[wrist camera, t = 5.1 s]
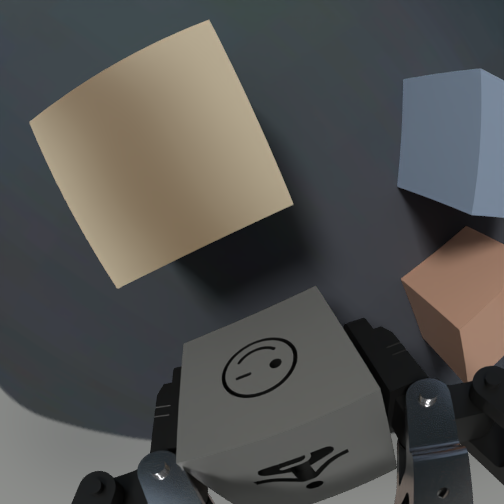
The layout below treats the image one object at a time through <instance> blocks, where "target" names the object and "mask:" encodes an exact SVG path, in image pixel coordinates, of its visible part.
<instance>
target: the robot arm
mask: <svg viewBox="0 0 504 504" xmlns="http://www.w3.org/2000/svg"><path fill="white" fill-rule="evenodd" d="M344 331H345V332H346V334H347V335H348V337H349V339H350V340H351V342H352V343H353V345H354V347H355V348H356V350H357V351H358V353H359V355H360V356H361V358H362V359H363V361H364V363H365V364H366V366H367V368H368V369H369V371H370V373H371V374H372V376H373V377H374V379H375V381H376V382H377V384H378V386H379V387H380V389H381V394H382V398H383V402H384V407H385V411H386V415H387V420H388V425H389V429H390V433H391V432H393V431H394V432H395V434H396V435H397V437H398V441H397V490H396V497H395V503H394V504H473V493H472V482H471V473H470V465H469V457H468V452H469V453H470V454H471V455H472V456H473V457H475V458H476V459H477V460H478V461H479V462H480V463H481V464H482V465H483V466H484V467H485V468H486V469H487V470H489V472H490V473H491V474H493V475H494V476H495V477H496V478H497V479H498V480H499V481H500V482H501V483H502V484H503V485H504V369H502V368H500V367H497V366H486V367H483V368H481V369H479V370H478V371H477V372H476V373H475V375H474V377H473V380H472V381H470V382H465V383H460V384H456V385H446V384H444V383H443V382H442V381H440V380H437V379H432V378H428V376H427V375H426V374H425V373H424V371H423V370H422V369H421V368H420V366H419V365H418V364H417V363H416V361H415V360H414V359H413V357H412V356H411V355H410V354H409V352H408V351H406V349H405V347H404V346H403V345H402V344H401V343H400V341H399V340H398V339H397V337H396V336H395V335H394V334H393V333H392V332H391V331H389V330H387V329H385V328H383V327H378V328H375V329H373V328H372V327H371V325H370V324H369V323H368V321H367V320H366V319H365V318H361V319H358V320H355V321H352V322H349V323H346V324H344ZM181 369H182V367H177V368H174V370H173V380H172V383H168V384H164V385H163V387H162V388H161V390H160V391H159V393H158V395H157V401H156V409H155V418H154V424H153V433H152V442H151V451H150V454H148V455H147V456H145V457H144V458H143V459H142V460H141V462H140V463H139V465H138V469H137V470H135V471H133V472H130V473H127V474H124V475H121V476H118V477H115V478H113V477H112V476H111V475H109V474H108V473H106V472H103V471H95V472H92V473H90V474H88V475H87V476H85V477H84V479H83V480H82V481H81V483H80V485H79V487H78V489H77V492H76V494H75V497H74V499H73V501H72V504H215V503H214V502H213V500H212V498H211V496H210V495H209V494H208V487H207V486H206V485H204V484H203V483H202V482H200V481H199V480H197V479H196V478H195V477H193V476H192V475H191V474H189V473H188V472H187V471H186V470H185V469H184V468H183V467H180V466H179V465H177V464H176V450H177V429H178V411H179V396H180V382H181ZM460 444H461V445H460ZM467 451H468V452H467Z"/></svg>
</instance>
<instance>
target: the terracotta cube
mask: <svg viewBox="0 0 504 504" xmlns="http://www.w3.org/2000/svg"><path fill="white" fill-rule="evenodd" d="M401 281H402V283H403V286H404V288H405V291H406V294H407V296H408V299H409V301H410V304H411V307H412V309H413V312H414V315H415V318H416V320H417V323H418V326H419V329H420V332H421V335H422V338H423V339H424V340H425V341H426V342H427V343H428V344H429V345H430V346H431V347H432V348H433V349H434V350H435V351H436V352H437V354H438V355H439V356H440V357H441V358H442V359H443V360H444V361H445V362H446V363H447V364H448V366H449V367H450V368H451V369H452V370H453V371H454V372H455V373H456V374H457V376H458V377H459V378H460V379H461V380H462V381H463V382H464V383H465V382H470V381H472V380H473V377H474V375H475V373H476V372H477V371H478V370H479V369H481V368H483V367H486V366H493V365H494V364H495V363H497V362H498V361H499V360H500V359H501V358H502V357H503V356H504V244H502V243H500V242H498V241H496V240H494V239H492V238H490V237H488V236H486V235H484V234H482V233H480V232H478V231H476V230H474V229H472V228H470V227H467V226H465V227H464V228H463V229H462V230H461V231H460V232H458V233H457V234H456V235H455V236H454V237H452V238H451V239H450V240H449V241H448V242H447V243H445V244H444V245H443V246H442V247H441V248H439V249H438V250H437V251H436V252H434V253H433V254H432V255H431V256H429V257H428V258H427V259H426V260H424V261H423V262H422V263H421V264H419V265H418V266H417V267H416V268H414V269H413V270H412V271H410V272H409V273H408V274H406V275H405V276H404V277H403V278H401Z"/></svg>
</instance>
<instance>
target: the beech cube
mask: <svg viewBox="0 0 504 504" xmlns="http://www.w3.org/2000/svg"><path fill="white" fill-rule="evenodd" d="M29 123H30V125H31V127H32V130H33V132H34V135H35V137H36V139H37V142H38V144H39V146H40V148H41V151H42V153H43V155H44V157H45V159H46V162H47V164H48V166H49V168H50V170H51V172H52V174H53V176H54V178H55V180H56V182H57V184H58V186H59V188H60V190H61V192H62V194H63V196H64V198H65V200H66V202H67V204H68V206H69V208H70V210H71V211H72V213H73V215H74V217H75V219H76V221H77V222H78V224H79V226H80V228H81V230H82V231H83V233H84V235H85V237H86V238H87V240H88V242H89V244H90V245H91V247H92V249H93V250H94V252H95V254H96V255H97V257H98V259H99V260H100V262H101V264H102V265H103V267H104V268H105V270H106V272H107V273H108V275H109V276H110V278H111V279H112V281H113V283H114V284H115V286H116V287H117V289H118V288H120V287H122V286H124V285H126V284H128V283H130V282H132V281H134V280H136V279H138V278H140V277H142V276H144V275H146V274H148V273H150V272H152V271H154V270H156V269H158V268H160V267H162V266H164V265H166V264H168V263H171V262H173V261H175V260H177V259H179V258H181V257H183V256H185V255H187V254H189V253H191V252H193V251H195V250H197V249H199V248H202V247H204V246H206V245H208V244H210V243H212V242H214V241H216V240H218V239H220V238H223V237H225V236H227V235H229V234H231V233H233V232H235V231H237V230H240V229H242V228H244V227H246V226H248V225H250V224H252V223H254V222H257V221H259V220H261V219H263V218H265V217H267V216H270V215H272V214H274V213H276V212H278V211H280V210H283V209H285V208H287V207H289V206H291V205H293V202H292V199H291V197H290V194H289V192H288V189H287V187H286V185H285V182H284V180H283V177H282V175H281V173H280V170H279V168H278V166H277V163H276V161H275V159H274V156H273V154H272V152H271V149H270V147H269V145H268V142H267V140H266V138H265V136H264V133H263V131H262V129H261V127H260V124H259V122H258V120H257V118H256V116H255V113H254V111H253V109H252V107H251V105H250V103H249V100H248V98H247V96H246V94H245V92H244V90H243V88H242V85H241V83H240V81H239V79H238V77H237V75H236V73H235V71H234V69H233V67H232V65H231V62H230V60H229V58H228V56H227V54H226V52H225V50H224V48H223V46H222V44H221V42H220V40H219V38H218V36H217V34H216V32H215V30H214V28H213V26H212V24H211V23H210V21H209V20H207V21H205V22H202V23H200V24H197V25H195V26H192V27H190V28H187V29H185V30H183V31H180V32H178V33H176V34H173V35H171V36H169V37H167V38H165V39H162V40H160V41H158V42H156V43H154V44H152V45H150V46H148V47H146V48H144V49H142V50H140V51H138V52H136V53H134V54H132V55H130V56H129V57H127V58H125V59H123V60H121V61H119V62H118V63H116V64H114V65H112V66H111V67H109V68H107V69H105V70H104V71H102V72H100V73H99V74H97V75H96V76H94V77H92V78H91V79H89V80H88V81H86V82H84V83H83V84H81V85H80V86H78V87H77V88H75V89H74V90H72V91H71V92H69V93H68V94H66V95H65V96H64V97H62V98H61V99H59V100H58V101H56V102H55V103H54V104H52V105H51V106H50V107H48V108H47V109H46V110H44V111H43V112H42V113H40V114H39V115H38V116H36V117H35V118H34V119H33V120H31V121H30V122H29Z"/></svg>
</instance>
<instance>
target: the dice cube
mask: <svg viewBox="0 0 504 504" xmlns="http://www.w3.org/2000/svg"><path fill="white" fill-rule="evenodd" d="M176 464H177V465H179V466H180V467H183V468H184V469H185V470H186V471H187V472H188V473H189V474H191V475H192V476H193V477H195V478H196V479H197V480H199V481H200V482H202V483H203V484H204V485H206V486H207V487H209V488H210V489H212V490H213V491H214V492H216V493H217V494H219V495H221V496H222V497H224V498H225V499H226V500H228V501H230V502H231V503H233V504H313V503H316V502H319V501H321V500H324V499H327V498H330V497H333V496H335V495H338V494H340V493H343V492H345V491H348V490H350V489H353V488H355V487H358V486H360V485H362V484H364V483H367V482H369V481H371V480H374V479H375V478H378V477H380V476H382V475H384V474H386V473H388V472H390V471H392V470H394V469H396V468H397V466H396V460H395V455H394V449H393V444H392V439H391V434H390V429H389V425H388V420H387V415H386V411H385V407H384V402H383V398H382V394H381V389H380V387H379V386H378V384H377V382H376V381H375V379H374V377H373V376H372V374H371V373H370V371H369V369H368V368H367V366H366V364H365V363H364V361H363V359H362V358H361V356H360V355H359V353H358V351H357V350H356V348H355V347H354V345H353V343H352V342H351V340H350V339H349V337H348V335H347V334H346V332H345V331H344V329H343V327H342V326H341V324H340V323H339V321H338V320H337V318H336V316H335V315H334V313H333V312H332V310H331V309H330V307H329V305H328V304H327V302H326V301H325V299H324V298H323V296H322V294H321V293H320V291H319V290H318V288H317V287H316V286H314V287H312V288H310V289H308V290H306V291H304V292H301V293H299V294H297V295H295V296H293V297H291V298H288V299H286V300H284V301H282V302H280V303H278V304H275V305H273V306H271V307H269V308H266V309H264V310H262V311H260V312H257V313H255V314H253V315H251V316H248V317H246V318H244V319H241V320H239V321H237V322H235V323H232V324H230V325H228V326H225V327H223V328H221V329H218V330H216V331H213V332H211V333H209V334H206V335H204V336H201V337H199V338H197V339H194V340H192V341H189V342H187V343H184V346H183V357H182V369H181V382H180V396H179V411H178V429H177V450H176Z"/></svg>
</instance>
